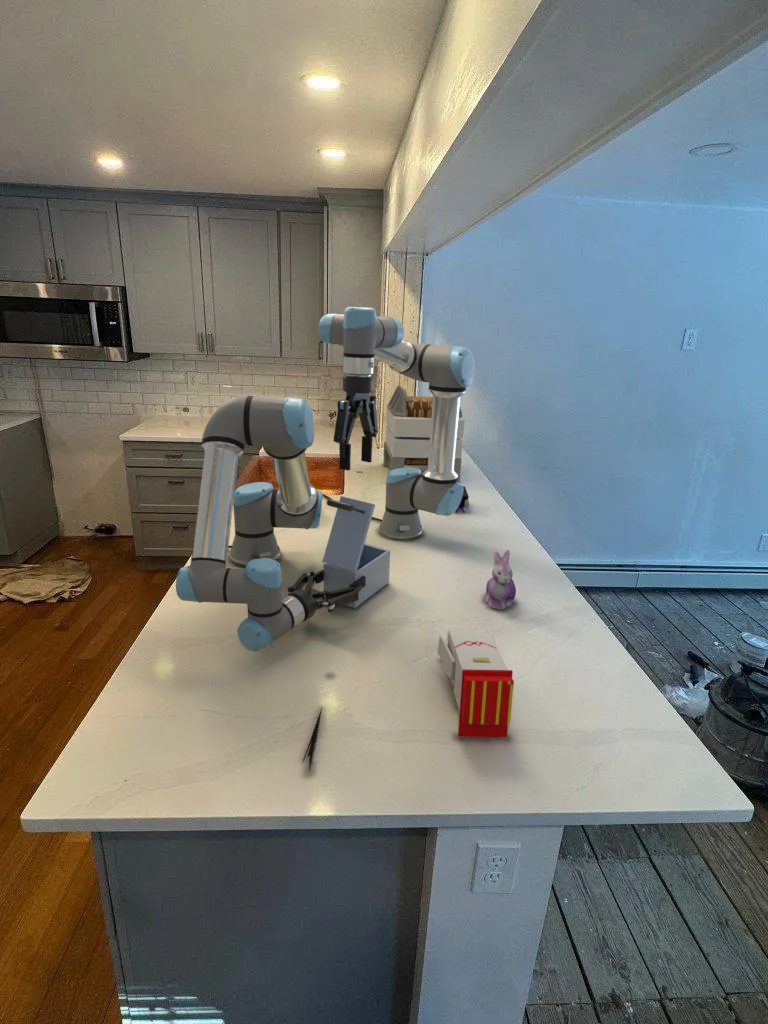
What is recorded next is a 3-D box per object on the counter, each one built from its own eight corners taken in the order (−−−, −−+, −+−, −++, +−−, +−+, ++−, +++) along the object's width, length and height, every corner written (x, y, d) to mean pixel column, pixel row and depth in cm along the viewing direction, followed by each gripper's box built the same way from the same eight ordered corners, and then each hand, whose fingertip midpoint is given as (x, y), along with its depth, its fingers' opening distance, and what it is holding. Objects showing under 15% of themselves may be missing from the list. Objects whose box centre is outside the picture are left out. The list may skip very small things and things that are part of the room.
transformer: (382, 463, 289) (386, 382, 275) (445, 464, 293) (451, 384, 279) (390, 482, 257) (394, 392, 243) (460, 483, 261) (468, 394, 247)
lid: (343, 496, 152) (324, 490, 144) (375, 504, 147) (358, 498, 139) (324, 562, 151) (305, 558, 143) (356, 572, 146) (338, 569, 138)
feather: (331, 679, 122) (336, 673, 122) (307, 777, 96) (313, 769, 95) (324, 675, 122) (329, 669, 121) (298, 772, 95) (304, 764, 95)
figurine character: (469, 517, 223) (463, 501, 236) (471, 500, 219) (465, 484, 233) (452, 516, 222) (447, 500, 236) (454, 499, 219) (449, 483, 232)
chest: (359, 573, 168) (360, 542, 165) (389, 582, 163) (390, 550, 160) (323, 597, 154) (323, 564, 150) (354, 608, 149) (355, 574, 146)
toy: (488, 613, 130) (523, 677, 101) (484, 667, 133) (517, 744, 104) (435, 612, 130) (455, 676, 101) (432, 666, 133) (451, 743, 103)
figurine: (497, 613, 149) (504, 562, 144) (474, 596, 158) (480, 547, 153) (525, 606, 154) (532, 556, 149) (501, 590, 162) (508, 542, 157)
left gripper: (258, 609, 141) (313, 576, 159) (332, 638, 130) (382, 599, 148) (257, 582, 138) (313, 552, 156) (333, 609, 128) (384, 574, 146)
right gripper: (345, 380, 126) (343, 477, 134) (394, 373, 144) (390, 459, 151) (318, 376, 130) (317, 471, 137) (369, 370, 147) (366, 454, 155)
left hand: (347, 575), depth 152 cm, fingers closed on chest, 10 cm apart
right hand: (355, 465), depth 144 cm, fingers open, 9 cm apart
